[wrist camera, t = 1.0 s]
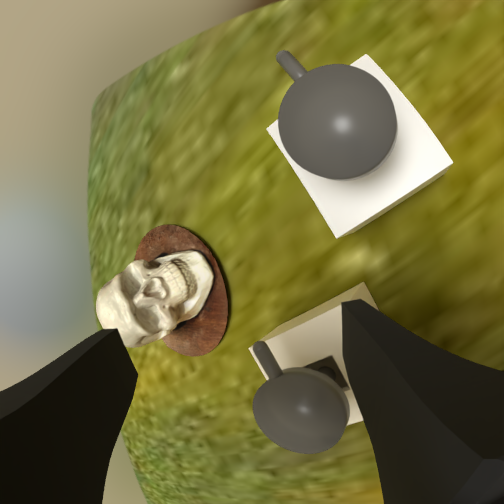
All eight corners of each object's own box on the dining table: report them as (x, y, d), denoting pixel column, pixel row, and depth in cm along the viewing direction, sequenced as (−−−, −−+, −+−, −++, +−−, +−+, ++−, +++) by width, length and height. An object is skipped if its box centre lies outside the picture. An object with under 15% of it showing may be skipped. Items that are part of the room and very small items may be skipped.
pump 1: (419, 155, 13) (421, 133, 9) (345, 204, 15) (319, 202, 11) (343, 61, 14) (317, 19, 10) (280, 109, 16) (237, 82, 12)
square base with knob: (444, 173, 15) (453, 162, 12) (353, 232, 19) (336, 238, 15) (378, 84, 17) (366, 53, 13) (296, 143, 20) (266, 128, 16)
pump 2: (377, 393, 15) (360, 443, 11) (311, 414, 17) (280, 458, 13) (326, 297, 16) (294, 325, 12) (262, 329, 18) (218, 359, 14)
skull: (182, 186, 24) (140, 285, 17) (261, 262, 29) (254, 362, 22) (106, 249, 30) (67, 332, 22) (177, 303, 35) (157, 384, 28)
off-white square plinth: (408, 370, 18) (402, 407, 14) (322, 401, 21) (301, 436, 17) (363, 281, 19) (349, 300, 15) (279, 325, 22) (248, 348, 18)
